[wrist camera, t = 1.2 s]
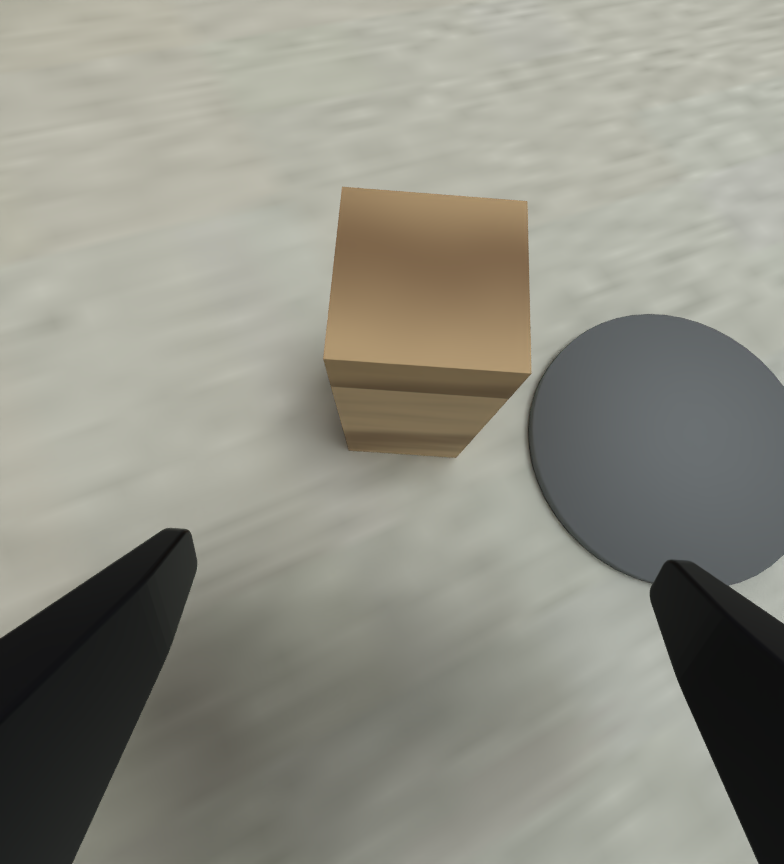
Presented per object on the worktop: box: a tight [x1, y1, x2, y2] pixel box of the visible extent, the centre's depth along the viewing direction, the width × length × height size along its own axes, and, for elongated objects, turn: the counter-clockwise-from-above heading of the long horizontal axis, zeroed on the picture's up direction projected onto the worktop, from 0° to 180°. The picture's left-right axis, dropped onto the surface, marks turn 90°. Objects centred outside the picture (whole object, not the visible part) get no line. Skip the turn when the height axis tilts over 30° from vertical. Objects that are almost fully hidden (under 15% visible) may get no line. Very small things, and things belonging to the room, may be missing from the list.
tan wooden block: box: [323, 187, 531, 458], centre depth 17 cm, size 5×5×11 cm
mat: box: [529, 314, 784, 585], centre depth 22 cm, size 14×14×1 cm
